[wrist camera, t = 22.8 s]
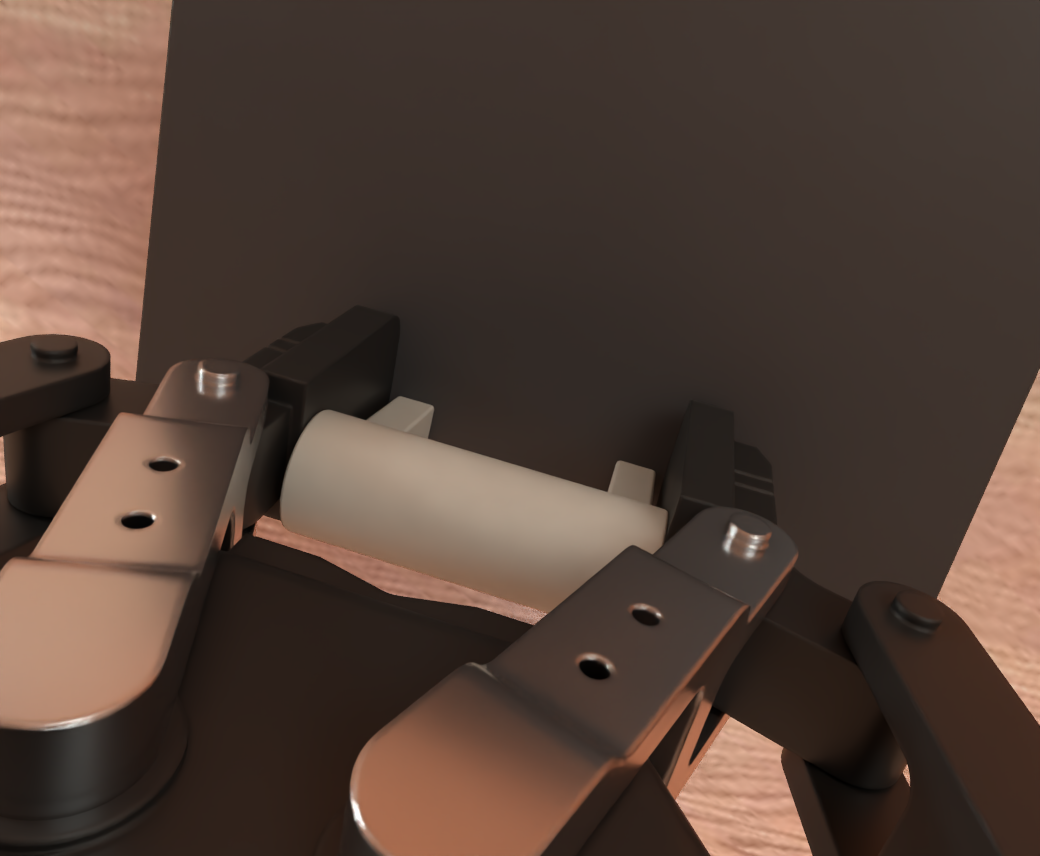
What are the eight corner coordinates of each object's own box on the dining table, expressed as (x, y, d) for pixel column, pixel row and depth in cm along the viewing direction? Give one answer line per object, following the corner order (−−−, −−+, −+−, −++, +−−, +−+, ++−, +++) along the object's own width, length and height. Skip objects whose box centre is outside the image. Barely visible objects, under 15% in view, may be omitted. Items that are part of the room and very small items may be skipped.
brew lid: (888, 661, 16) (973, 870, 11) (152, 434, 17) (-52, 529, 13) (1393, -484, 10) (1974, -1038, 6) (267, -651, 12) (-8, -1186, 7)
